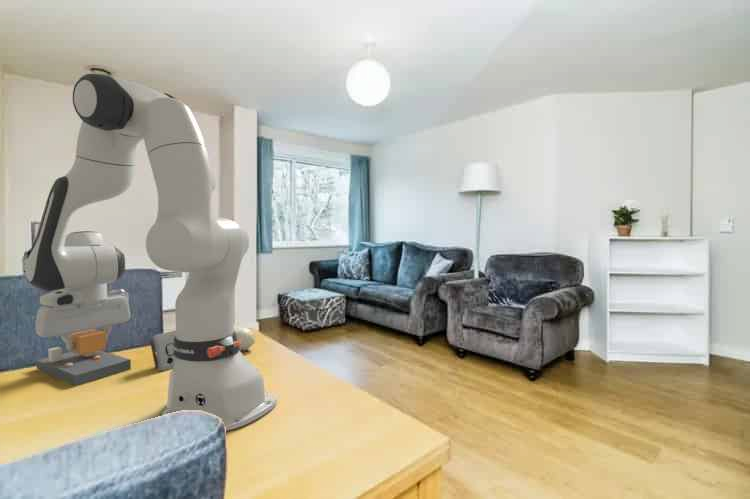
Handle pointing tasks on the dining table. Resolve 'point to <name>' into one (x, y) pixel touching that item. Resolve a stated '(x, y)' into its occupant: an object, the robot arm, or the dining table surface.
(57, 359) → the plain toggle
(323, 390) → the dining table surface
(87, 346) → the cap
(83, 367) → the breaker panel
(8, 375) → the dining table surface
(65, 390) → the dining table surface
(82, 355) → the tagged toggle
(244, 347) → the baseball
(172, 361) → the electrical switch
